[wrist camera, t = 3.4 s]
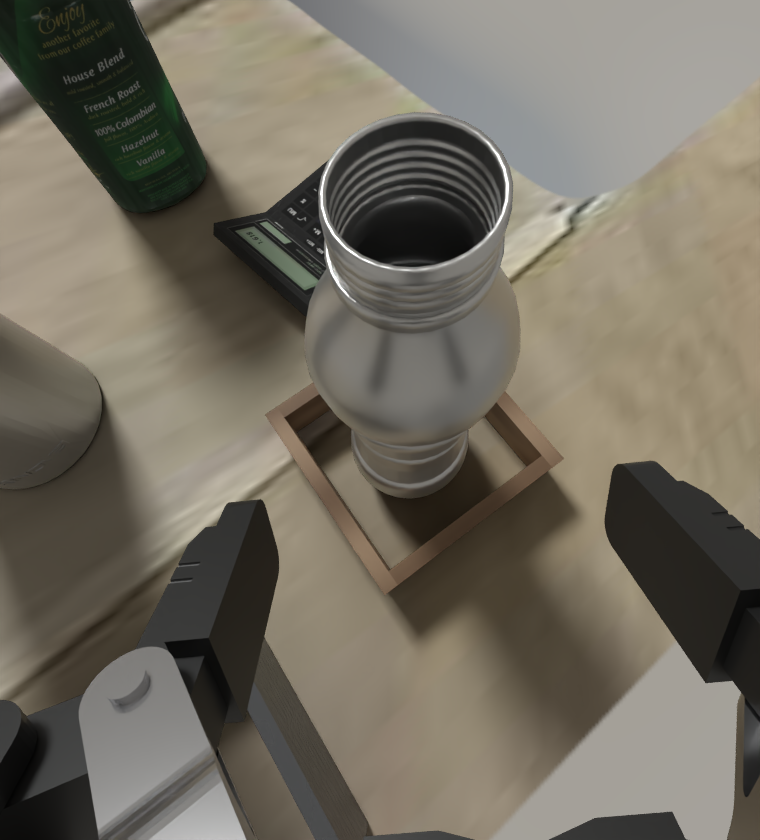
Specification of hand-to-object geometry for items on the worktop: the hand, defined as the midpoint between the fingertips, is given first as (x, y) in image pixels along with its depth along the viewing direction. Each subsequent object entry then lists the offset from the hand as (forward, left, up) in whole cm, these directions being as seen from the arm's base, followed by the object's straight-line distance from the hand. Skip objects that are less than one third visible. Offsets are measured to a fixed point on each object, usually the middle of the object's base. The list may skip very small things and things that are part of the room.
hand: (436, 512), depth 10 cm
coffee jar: (-35, 0, -16) cm, 38 cm away
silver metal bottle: (-5, +3, -16) cm, 17 cm away
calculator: (-21, +7, -16) cm, 27 cm away
